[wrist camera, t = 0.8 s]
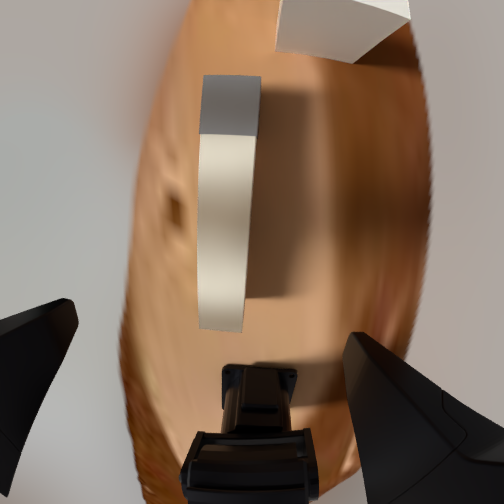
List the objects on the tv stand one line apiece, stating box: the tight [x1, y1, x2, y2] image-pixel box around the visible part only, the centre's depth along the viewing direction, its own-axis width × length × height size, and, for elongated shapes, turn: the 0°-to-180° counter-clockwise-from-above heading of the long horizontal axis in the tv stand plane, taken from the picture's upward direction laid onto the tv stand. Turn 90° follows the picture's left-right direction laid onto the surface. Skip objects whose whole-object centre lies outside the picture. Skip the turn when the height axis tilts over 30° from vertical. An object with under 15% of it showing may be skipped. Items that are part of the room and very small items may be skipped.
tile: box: [275, 0, 411, 64], centre depth 9 cm, size 2×5×8 cm, turn 86°
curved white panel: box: [197, 75, 261, 333], centre depth 15 cm, size 14×3×4 cm, turn 176°
